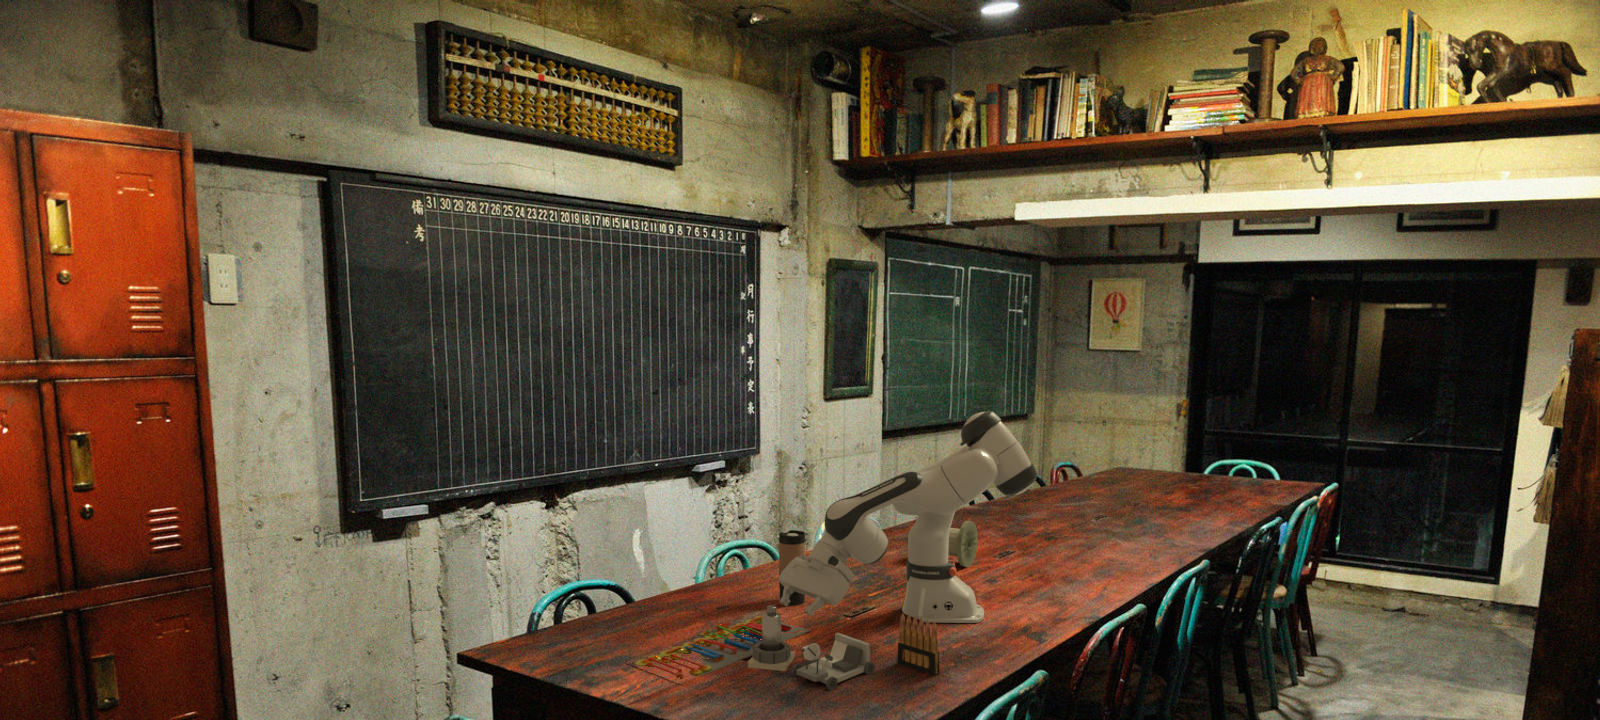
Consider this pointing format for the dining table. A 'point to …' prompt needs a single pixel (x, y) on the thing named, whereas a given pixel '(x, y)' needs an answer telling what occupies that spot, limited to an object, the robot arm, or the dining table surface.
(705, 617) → the dining table surface
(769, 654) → the socket plate
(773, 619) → the grey peg
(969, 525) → the spool
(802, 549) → the travel mug
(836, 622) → the dining table surface
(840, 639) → the small toy car
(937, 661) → the ammunition clip
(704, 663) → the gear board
